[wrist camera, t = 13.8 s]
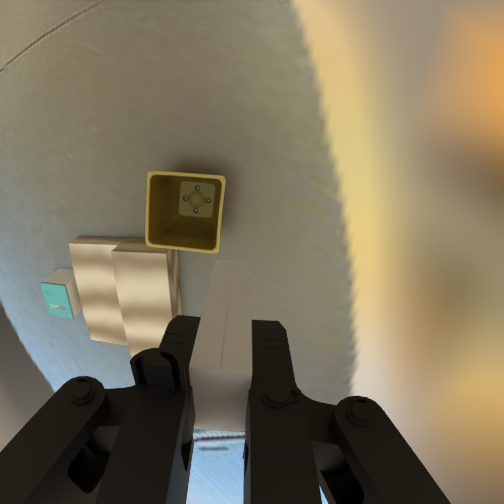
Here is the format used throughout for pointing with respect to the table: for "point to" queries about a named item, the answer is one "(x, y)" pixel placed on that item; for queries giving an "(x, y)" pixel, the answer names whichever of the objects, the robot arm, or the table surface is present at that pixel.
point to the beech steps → (126, 289)
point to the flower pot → (184, 211)
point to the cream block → (61, 293)
